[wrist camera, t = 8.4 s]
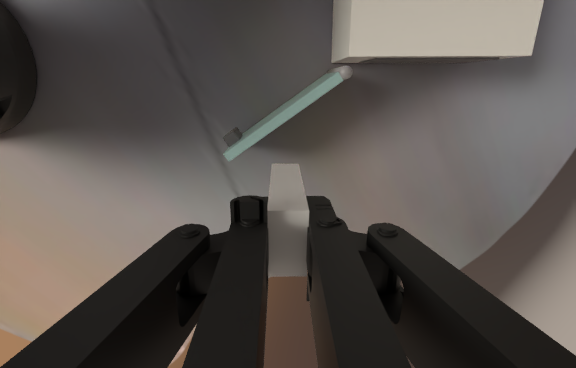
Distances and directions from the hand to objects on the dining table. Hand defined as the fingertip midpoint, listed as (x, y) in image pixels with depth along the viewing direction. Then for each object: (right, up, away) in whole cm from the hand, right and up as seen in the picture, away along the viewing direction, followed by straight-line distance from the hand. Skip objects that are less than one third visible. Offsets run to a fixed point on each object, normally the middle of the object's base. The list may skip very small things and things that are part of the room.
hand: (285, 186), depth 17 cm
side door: (0, +9, +15) cm, 17 cm away
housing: (+12, +17, +13) cm, 24 cm away
